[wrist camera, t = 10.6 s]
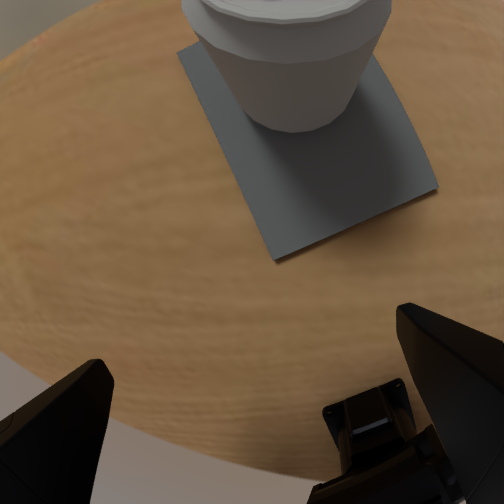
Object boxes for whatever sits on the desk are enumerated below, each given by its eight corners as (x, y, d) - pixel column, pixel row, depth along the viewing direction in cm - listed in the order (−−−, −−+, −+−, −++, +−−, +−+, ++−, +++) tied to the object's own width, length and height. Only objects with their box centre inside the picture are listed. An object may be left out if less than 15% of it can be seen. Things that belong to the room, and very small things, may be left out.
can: (373, 76, 17) (438, -42, 6) (304, 160, 19) (316, 88, 7) (280, 16, 17) (259, -116, 6) (210, 93, 19) (120, -12, 7)
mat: (435, 187, 19) (439, 186, 18) (273, 259, 21) (272, 260, 20) (328, -4, 18) (328, -9, 17) (179, 56, 20) (176, 52, 19)
